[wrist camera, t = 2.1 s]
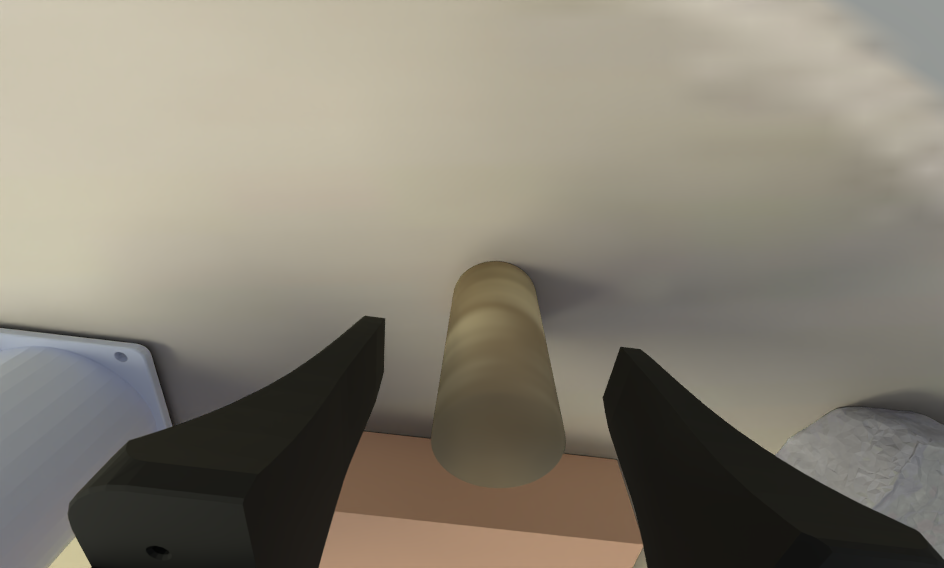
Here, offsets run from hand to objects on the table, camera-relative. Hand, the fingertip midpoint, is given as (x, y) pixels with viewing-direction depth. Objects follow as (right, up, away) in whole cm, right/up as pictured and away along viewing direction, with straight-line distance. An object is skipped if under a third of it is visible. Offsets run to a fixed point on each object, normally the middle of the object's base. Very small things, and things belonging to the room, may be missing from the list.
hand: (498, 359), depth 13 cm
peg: (0, +2, +3) cm, 4 cm away
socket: (-2, -11, +10) cm, 15 cm away
